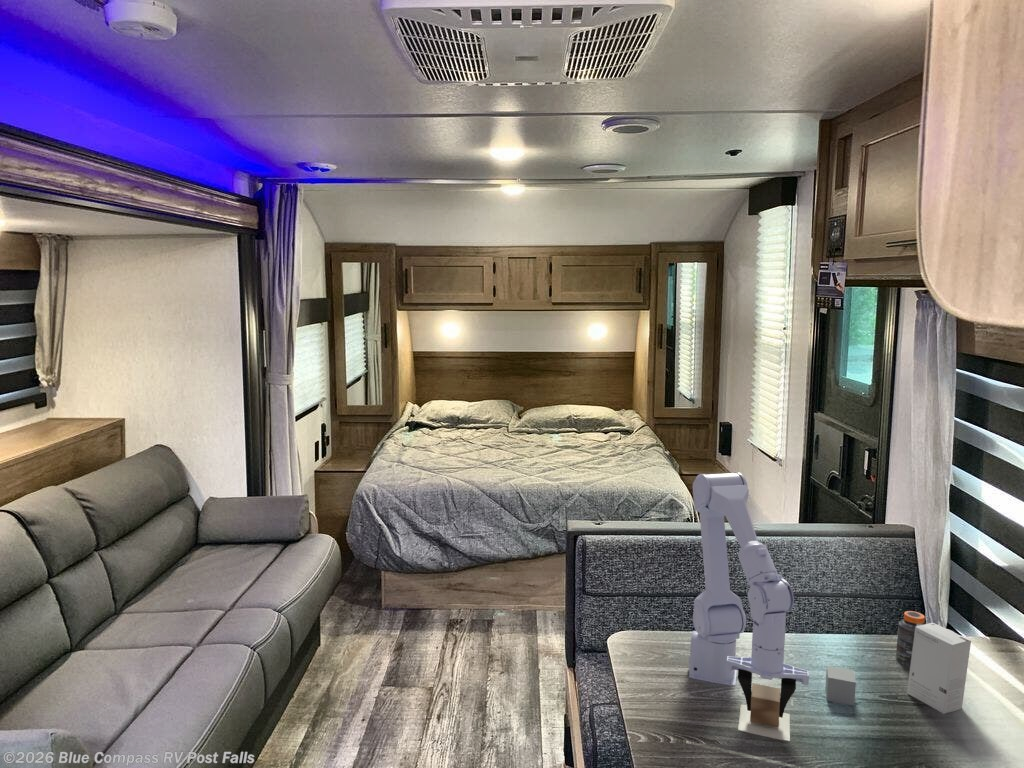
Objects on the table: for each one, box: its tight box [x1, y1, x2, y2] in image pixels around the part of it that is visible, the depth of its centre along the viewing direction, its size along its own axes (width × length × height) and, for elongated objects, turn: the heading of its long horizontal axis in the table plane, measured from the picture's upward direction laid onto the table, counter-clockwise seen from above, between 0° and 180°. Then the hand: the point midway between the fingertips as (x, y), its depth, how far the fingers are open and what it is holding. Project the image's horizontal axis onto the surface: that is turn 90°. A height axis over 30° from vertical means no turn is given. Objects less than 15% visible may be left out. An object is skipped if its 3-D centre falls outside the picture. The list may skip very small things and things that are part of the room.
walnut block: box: [750, 683, 781, 728], centre depth 131 cm, size 5×5×5 cm
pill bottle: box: [895, 610, 926, 668], centre depth 154 cm, size 6×6×11 cm
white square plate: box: [737, 704, 791, 743], centre depth 132 cm, size 9×9×1 cm
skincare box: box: [906, 622, 972, 715], centre depth 138 cm, size 8×6×15 cm
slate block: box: [824, 665, 857, 707], centre depth 140 cm, size 5×5×5 cm
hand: (764, 711), depth 131 cm, fingers closed on walnut block, 5 cm apart
